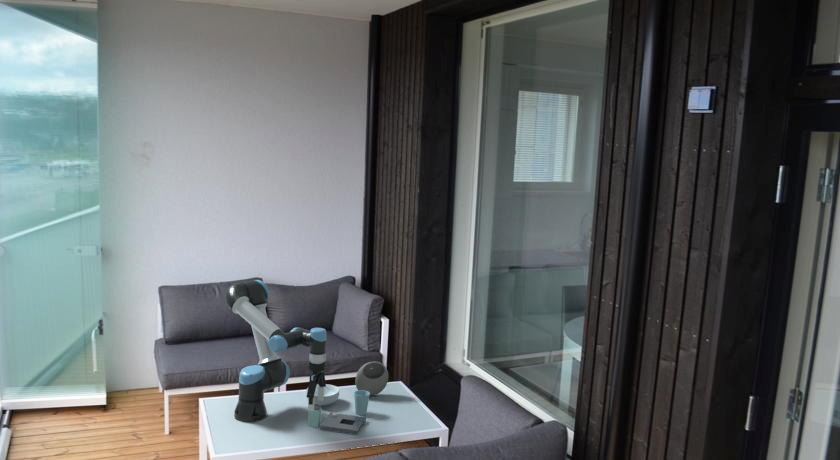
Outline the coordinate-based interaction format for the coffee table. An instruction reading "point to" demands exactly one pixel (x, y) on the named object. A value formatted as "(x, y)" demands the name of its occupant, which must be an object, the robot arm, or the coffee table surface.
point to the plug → (314, 416)
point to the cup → (361, 401)
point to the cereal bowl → (326, 395)
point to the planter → (372, 378)
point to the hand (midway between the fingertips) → (315, 405)
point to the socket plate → (343, 423)
